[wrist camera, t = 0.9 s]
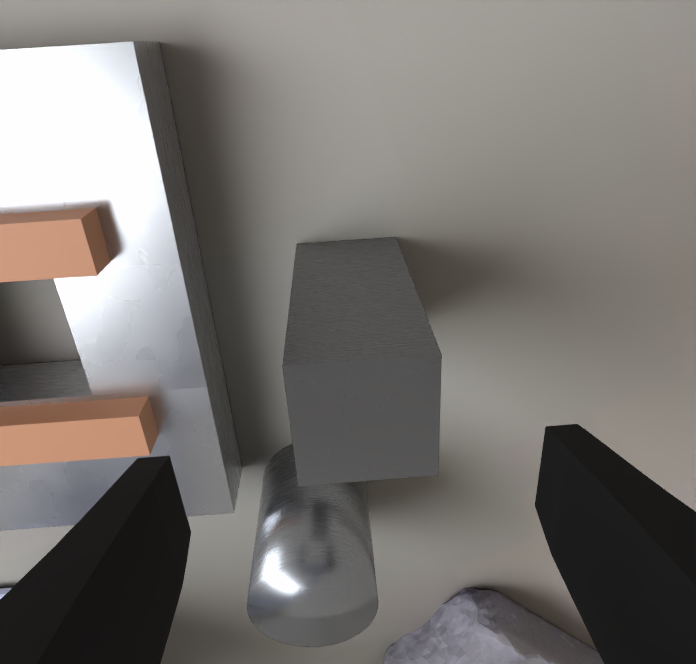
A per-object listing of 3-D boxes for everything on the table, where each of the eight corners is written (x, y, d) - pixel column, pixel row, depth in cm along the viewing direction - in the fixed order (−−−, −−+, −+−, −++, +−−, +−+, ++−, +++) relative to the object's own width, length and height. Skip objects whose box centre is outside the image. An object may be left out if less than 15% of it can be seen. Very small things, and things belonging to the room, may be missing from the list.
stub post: (367, 513, 25) (380, 641, 19) (270, 520, 25) (256, 651, 19) (362, 436, 23) (375, 557, 17) (257, 444, 23) (237, 567, 17)
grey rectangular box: (397, 325, 20) (438, 475, 13) (306, 331, 20) (298, 486, 13) (395, 236, 19) (441, 354, 12) (296, 243, 19) (282, 366, 12)
